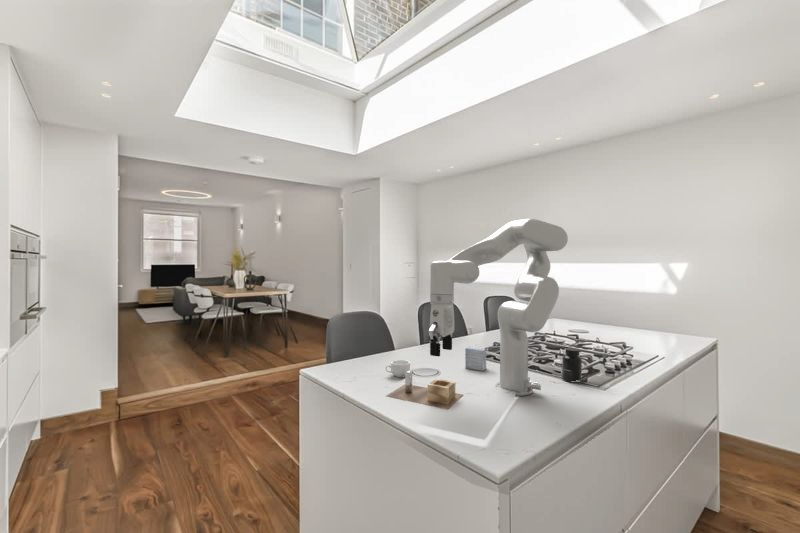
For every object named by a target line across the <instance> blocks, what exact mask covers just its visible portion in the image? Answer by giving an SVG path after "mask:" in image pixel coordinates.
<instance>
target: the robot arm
mask: <svg viewBox="0 0 800 533" xmlns="http://www.w3.org/2000/svg"><path fill="white" fill-rule="evenodd" d="M568 238H569V237H568V234H567V232H566V230H565V229H564V228H563V227H562V226H559V225H556V224H553V223H549V222H547V221H542V220H540V219H535V218H524V219H517V220H516V219H515V220H513V221H511V220H510V222H507V223H505V225H503V226H501V227H500V228H499V229H497V230H496V231H495V232H493V233H492V234H491V235H489V236H488V237H487V238H485V239H483V240H481V241H478V242H476V243H475V244H473V245H471V246H469V247H467V248H465V249H463V250H461V251H460V252H458V253H456V254H455V255H454V256H452V257H451V258H450V259H448V260H434V261H432V262H431V264H430V272H429V273H430V274H429V275H430V276H429V277H430V278H429V280H430V281H429V282H430V283H429V284H430V285H429V286H430V288H429V289H430V291H429V292H430V293H429V297H430V298H429V299H430V300H429V303H430V314H429V315H430V318H429V330H428V339H429V343H430V344H429V354H430V356H431V357H432V356H433V357H440V356H441V342H440V341H441V337H442V349H443V350H448V351H452V350H453V333H455V309H454V302H455V301H454V300H455V299H454V298H455V297H454V296H455V283H457V284H458V283H459V284H468V285H469V284H472V283H474V282H475V281H476V280H478V278H479V276H480V268H479V267H480V266H482V265H487V264H491V263H495V262H498V261H499V260H501V259H502V258H504V257H505V256H506V255H507V254H509V253H510V252H512V251H513V250H514V249H515V248H517V247H518V246H520V245H523V247H524V249H525V253H526V257H527V258H526V259H527V260H526V263H525V265H524V267H523V270H522V272H521V273H520V276H519V277H518V280H517V282H516V283H515V286H514V287H513V288H514V290H513V294H514V296H515V297H516V298H517V299H518V300H520V301H518V300H508V301H504V302H502V303H501V304H500V305H499V307H498V310H497V323H498V326H499V327H498V328H499V340H500V342H499V343H500V344H499V347H500V348H499V355H500V356H499V381H498V382H497V383H496V384H495V388H502V389H504V390H507V391H516V393H515V395H514V396H517V397H524V396H528V395H531V394H533V390H536V391H537V390H538V391H541V389H542V384H540V383H539V382H538V381H537V382H535V381H532V380H531V377H529V338H528V334H527V332H528V333H538V332H539V331H541V330H542V329H543V328H544V327H545V325H546V323H547V321H548V319H549V318H550V316H551V313H552V311H553V309H554V308H555V305H556V304H557V300H558V298H559V295H560V290H559V289H560V287H559V285H558V282H557V281H556V279H555V278H553V277H550V276H549V273H550V271H551V261H550V259H549V256H548V253H547V252H558V251H562V250H563V249H564V248H565V247H566V246H567V245H568V240H569V239H568Z"/></svg>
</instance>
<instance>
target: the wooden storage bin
mask: <svg viewBox="0 0 800 533" xmlns="http://www.w3.org/2000/svg"><path fill="white" fill-rule="evenodd" d="M427 388H428V400H429V401H434V402H439V403H444V404H448V403H450V402H451V401H452V400H453V399H454V398H455V393H456V381H451V380H446V379H441V378H440V379H439V378H436V379H435V378H434V380H432V381H431V382H429V383H428V384H427Z"/></svg>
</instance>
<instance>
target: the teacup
mask: <svg viewBox="0 0 800 533" xmlns="http://www.w3.org/2000/svg"><path fill="white" fill-rule="evenodd" d="M387 368H390V370H388V369H387ZM410 370H411V361H409V360H407V359H395V360H392V361H390V365H386V366H385V371H386V372H388V373H391V374H392V375H393V376H395V377H396V378H405V373H406V372H407V371H410Z"/></svg>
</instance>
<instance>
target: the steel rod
mask: <svg viewBox="0 0 800 533" xmlns="http://www.w3.org/2000/svg"><path fill="white" fill-rule="evenodd" d="M404 379H405V381H404V385H405V393H412V385H413V372H412V371H407V372H406V373H405V377H404Z"/></svg>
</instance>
